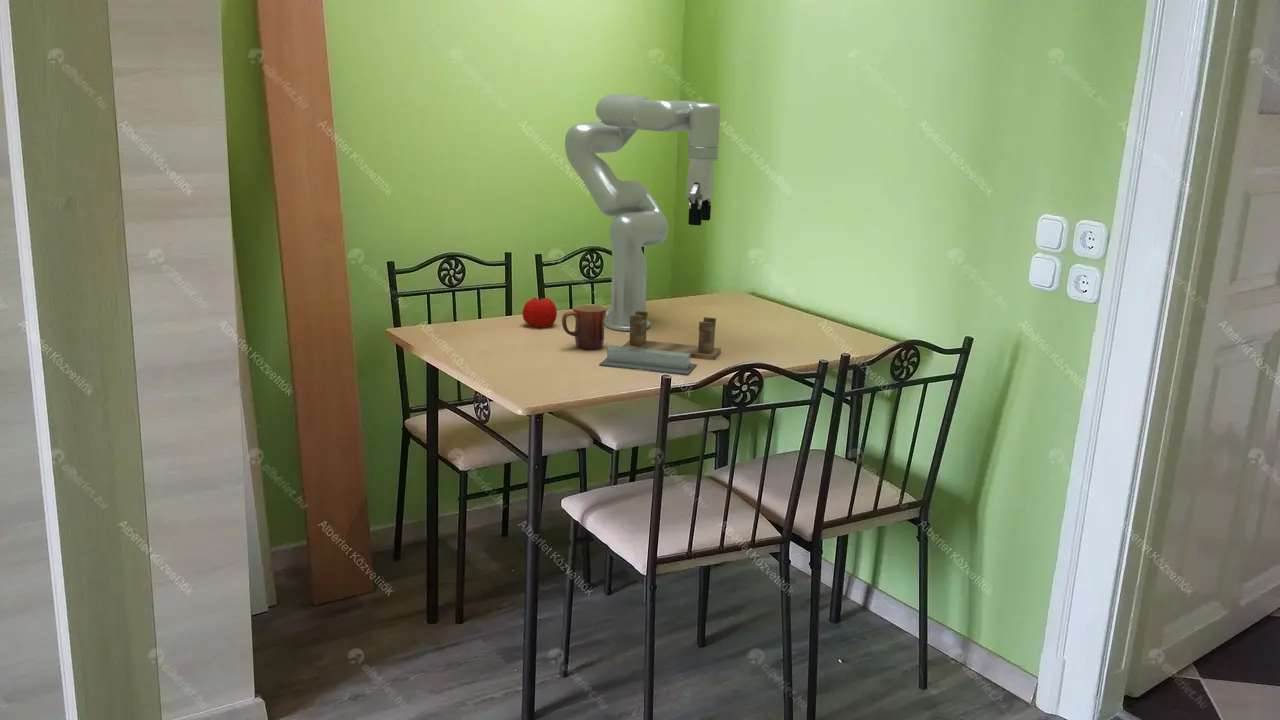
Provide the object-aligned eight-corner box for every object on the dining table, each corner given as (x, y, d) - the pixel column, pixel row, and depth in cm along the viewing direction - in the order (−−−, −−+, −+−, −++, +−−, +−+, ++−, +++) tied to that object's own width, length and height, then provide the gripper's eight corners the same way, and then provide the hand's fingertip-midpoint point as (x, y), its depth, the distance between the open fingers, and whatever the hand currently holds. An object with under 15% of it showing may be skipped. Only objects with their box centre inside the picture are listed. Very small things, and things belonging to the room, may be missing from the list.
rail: (607, 361, 243) (607, 348, 242) (611, 357, 246) (611, 345, 245) (686, 369, 238) (687, 357, 237) (690, 366, 241) (690, 353, 240)
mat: (599, 365, 241) (599, 363, 241) (610, 356, 249) (610, 354, 249) (688, 375, 235) (688, 373, 235) (696, 365, 244) (696, 363, 243)
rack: (622, 350, 255) (622, 315, 253) (631, 342, 262) (632, 309, 260) (714, 359, 249) (716, 324, 246) (720, 352, 256) (722, 317, 254)
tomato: (551, 321, 283) (552, 295, 281) (559, 328, 275) (559, 302, 273) (519, 322, 280) (519, 296, 278) (525, 330, 272) (525, 303, 270)
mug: (597, 341, 263) (598, 303, 260) (612, 349, 256) (613, 310, 253) (555, 345, 258) (555, 306, 255) (569, 353, 250) (569, 313, 247)
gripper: (696, 150, 258) (693, 217, 263) (679, 155, 242) (676, 225, 247) (724, 152, 256) (721, 219, 261) (709, 157, 240) (705, 228, 245)
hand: (699, 222), depth 254 cm, fingers open, 9 cm apart
